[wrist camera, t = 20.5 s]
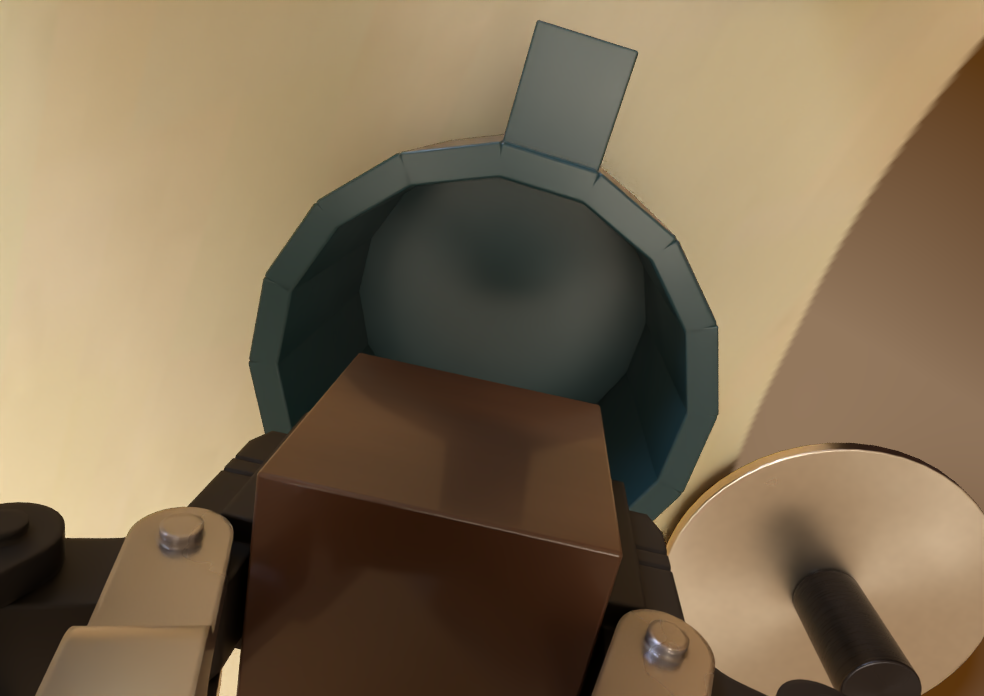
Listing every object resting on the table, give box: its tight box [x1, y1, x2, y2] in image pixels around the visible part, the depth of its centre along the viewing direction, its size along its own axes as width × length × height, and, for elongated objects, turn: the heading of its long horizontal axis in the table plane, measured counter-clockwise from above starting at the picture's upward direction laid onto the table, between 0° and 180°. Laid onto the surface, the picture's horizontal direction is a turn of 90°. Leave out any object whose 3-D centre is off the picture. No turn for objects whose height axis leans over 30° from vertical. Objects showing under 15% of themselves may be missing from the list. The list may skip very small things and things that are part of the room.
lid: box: [666, 443, 984, 696], centre depth 25 cm, size 13×13×6 cm
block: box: [237, 353, 623, 696], centre depth 11 cm, size 4×4×4 cm
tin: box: [249, 20, 718, 521], centre depth 22 cm, size 12×17×8 cm
